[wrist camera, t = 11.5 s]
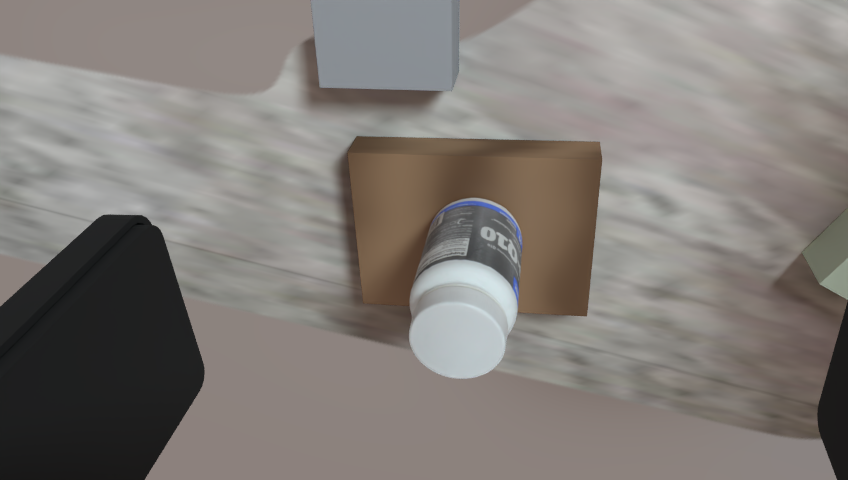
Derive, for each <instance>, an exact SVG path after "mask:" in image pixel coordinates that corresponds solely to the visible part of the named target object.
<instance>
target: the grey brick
mask: <svg viewBox="0 0 848 480" xmlns="http://www.w3.org/2000/svg"><path fill="white" fill-rule="evenodd" d="M459 1H460V0H311V9H312V19H313V28H314V38H315V47H316V57H317V67H318V76H319V86H320V88H355V89H393V90H430V91H452V90H453V87H454V84H455V81H456V78H457V75H458V72H459V9H460V8H459V7H460V5H459Z"/></svg>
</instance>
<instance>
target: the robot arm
mask: <svg viewBox="0 0 848 480" xmlns="http://www.w3.org/2000/svg"><path fill="white" fill-rule="evenodd" d="M203 381H204V364H203V361H202V358H201V354H200V351H199V348H198V345H197V342H196V339H195V335H194V333H193V329H192V326H191V323H190V320H189V317H188V313H187V310H186V307H185V304H184V301H183V298H182V294H181V291H180V288H179V285H178V282H177V279H176V275H175V272H174V269H173V266H172V263H171V260H170V256H169V253H168V250H167V247H166V244H165V241H164V237H163V235H162V232H161V230H160V229H159V228H158V227H156V226H154V225H152V224H151V222H150V221H149V220H148V219H147V218H146V217H144V216H142V215H102V216H101V217H99V218H98V219H96V220H95V221H94V222H93V223H92V224H91V225H90V226H89V227H88V228H87V229H85V230H84V231H83V232H82V233H81V234H80V235H79V236H78V237H77V238H76V239H74V240H73V241H72V242H71V243H70V244H69V245H68V246H67V247H66V248H64V249H63V250H62V251H61V252H60V253H59V254H58V255H57V256H56V257H55V258H53V259H52V260H51V261H50V262H49V263H48V264H47V265H46V266H45V267H44V268H42V269H41V270H40V271H39V272H38V273H37V274H36V275H35V276H34V277H32V278H31V279H30V280H29V281H28V282H27V283H26V284H25V285H24V286H23V287H22V288H20V289H19V290H18V291H17V292H16V293H15V294H14V295H13V296H12V297H10V298H9V299H8V300H7V301H6V302H5V303H4V304H3V305H2V306H0V480H145V478H146V476H147V474H148V473H149V471H150V470H151V468H152V467H153V465H154V464H155V462H156V460H157V459H158V457H159V455H160V454H161V452H162V450H163V449H164V447H165V446H166V444H167V442H168V441H169V439H170V438H171V436H172V435H173V433H174V431H175V430H176V428H177V426H178V425H179V423H180V422H181V420H182V418H183V417H184V415H185V414H186V412H187V410H188V409H189V407H190V406H191V404H192V402H193V401H194V399H195V398H196V396H197V394H198V393H199V391H200V389H201V387H202V384H203ZM818 427H819V432H820V435H821V438H822V440H823V443H824V446H825V448H826V451H827V454H828V456H829V459H830V462H831V465H832V467H833V470H834V473H835V475H836V478H837V480H848V302H847V306H846V309H845V313H844V316H843V320H842V324H841V327H840V331H839V334H838V338H837V341H836V345H835V348H834V352H833V355H832V359H831V362H830V366H829V369H828V373H827V376H826V380H825V384H824V387H823V391H822V394H821V398H820V401H819V406H818Z"/></svg>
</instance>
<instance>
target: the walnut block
mask: <svg viewBox="0 0 848 480" xmlns="http://www.w3.org/2000/svg"><path fill="white" fill-rule="evenodd" d="M347 154H348V163H349V173H350V182H351V192H352V201H353V211H354V221H355V230H356V240H357V249H358V259H359V268H360V278H361V288H362V297H363V303H366V304H383V305H400V306H410V293H411V289H412V286H413V283H414V280H415V276H416V273H417V270H418V266H419V263H420V260H421V256H422V252H423V249H424V246H425V242H426V238H427V236H428V232H429V229H430V226H431V223H432V221H433V219H434V218H435V216H436V215H437V213H438V212H439V211H440V210H441V209H442V208H444V207H445V206H447V205H448V204H450V203H452V202H455V201H458V200H461V199H466V198H481V199H486V200H490V201H492V202H495V203H497V204H499V205H501V206H503V207H504V208H506V209H507V210H508V211H509V212H510V213H511V215H512V216H513V217H514V219H515V220H516V222H517V223H518V225H519V228H520V231H521V235H522V258H521V273H520V284H519V299H518V312H520V313H537V314H554V315H571V316H587V310H588V300H589V289H590V279H591V269H592V259H593V248H594V238H595V228H596V218H597V207H598V197H599V187H600V177H601V166H602V155H601V148H600V142H578V141H535V140H492V139H448V138H405V137H362V136H357V137H356V139H355V141H354V142H353V144H352V146H351V148H350V149H349V151H348V153H347Z"/></svg>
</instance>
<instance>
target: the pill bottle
mask: <svg viewBox="0 0 848 480" xmlns="http://www.w3.org/2000/svg"><path fill="white" fill-rule="evenodd" d="M521 258H522V235H521V231H520V228H519V225H518V223H517V222H516V220H515V219H514V217H513V216H512V215H511V213H510V212H509V211H508V210H507V209H506V208H504V207H503V206H501V205H499V204H497V203H495V202H492V201H490V200H486V199H481V198H466V199H461V200H458V201H455V202H452V203H450V204H448V205H447V206H445V207H444V208H442V209H441V210H440V211H439V212H438V213H437V215H436V216H435V218H434V219H433V221H432V223H431V226H430V229H429V232H428V236H427V238H426V242H425V246H424V249H423V252H422V256H421V260H420V263H419V266H418V270H417V273H416V276H415V280H414V283H413V286H412V289H411V293H410V311H411V315H412V321H411V324H410V328H409V342H410V346H411V348H412V351H413V353H414V354H415V356H416V357H417V358H418V360H419V361H420V362H421V363H422V364H424V366H426V367H427V368H429V369H430V370H432V371H434V372H435V373H438V374H440V375H443V376H446V377H450V378H459V379H468V378H474V377H478V376H481V375H484V374H486V373H488V372H489V371H491V370H492V369H493V368H495V367H496V366H497V365H498V363H499V362H500V361H501V359H502V357H503V355H504V352H505V347H506V340H507V336H508V334H509V333H510V331H511V329H512V328H513V326H514V323H515V320H516V317H517V312H518V299H519V284H520V273H521Z"/></svg>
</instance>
